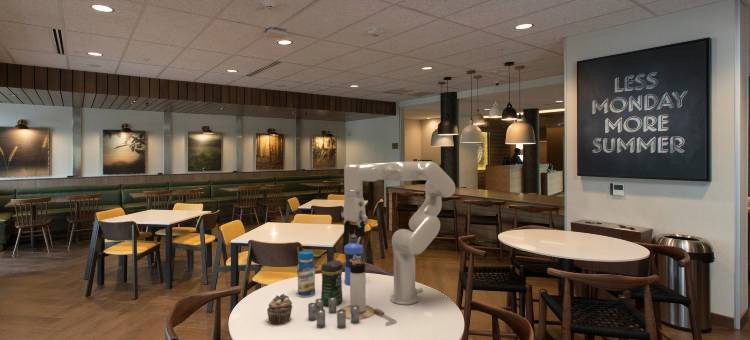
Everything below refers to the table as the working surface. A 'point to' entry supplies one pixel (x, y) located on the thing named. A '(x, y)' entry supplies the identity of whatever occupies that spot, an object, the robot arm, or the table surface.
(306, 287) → the beverage bottle
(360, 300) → the travel mug
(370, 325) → the table surface
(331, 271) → the coffee jar
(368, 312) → the round wooden board
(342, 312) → the spacer field
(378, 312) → the hook tool
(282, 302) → the cupcake
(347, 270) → the water bottle
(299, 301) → the table surface
